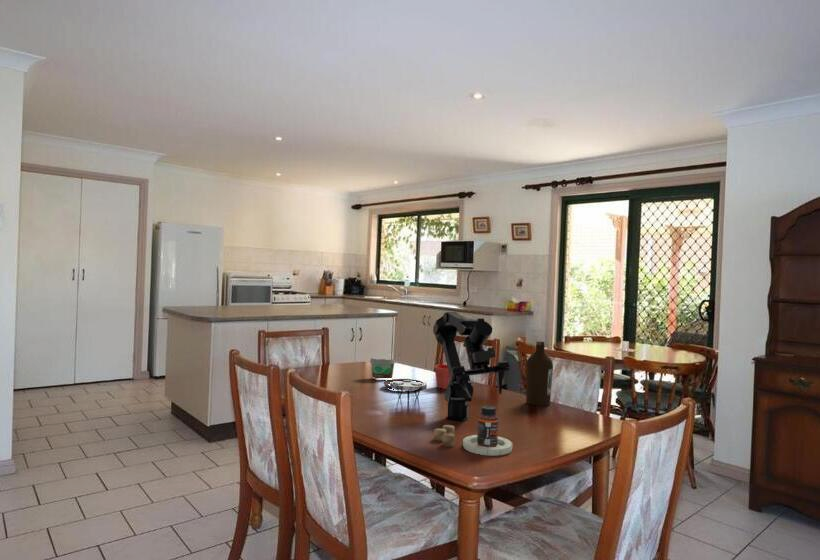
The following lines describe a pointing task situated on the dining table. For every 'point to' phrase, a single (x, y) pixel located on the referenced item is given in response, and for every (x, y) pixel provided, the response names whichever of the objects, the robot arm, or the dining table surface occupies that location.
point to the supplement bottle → (487, 427)
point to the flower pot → (442, 376)
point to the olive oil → (539, 377)
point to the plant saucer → (396, 380)
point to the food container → (382, 368)
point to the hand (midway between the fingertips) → (486, 396)
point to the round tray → (501, 449)
